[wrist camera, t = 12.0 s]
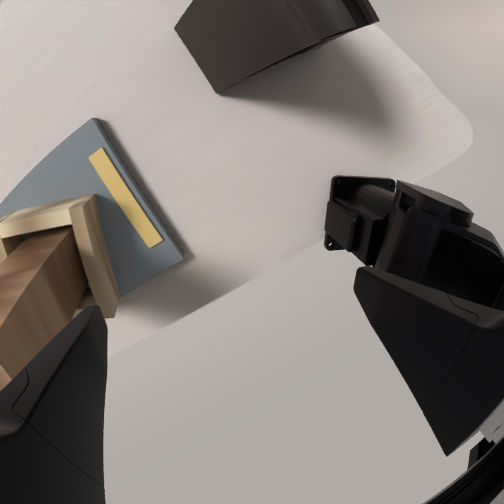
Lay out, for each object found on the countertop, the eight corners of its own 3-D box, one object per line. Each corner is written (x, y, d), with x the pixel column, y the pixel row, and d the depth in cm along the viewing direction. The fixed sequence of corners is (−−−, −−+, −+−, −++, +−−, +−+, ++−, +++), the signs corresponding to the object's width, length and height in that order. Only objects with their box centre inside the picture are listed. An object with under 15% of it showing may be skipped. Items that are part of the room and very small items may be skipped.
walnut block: (75, 223, 18) (-11, 347, 7) (91, 275, 20) (40, 414, 9) (31, 233, 18) (-61, 344, 6) (47, 281, 20) (-15, 406, 8)
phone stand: (215, 94, 18) (255, 63, 7) (173, 29, 15) (165, -62, 4) (320, 46, 17) (435, 11, 7) (283, -14, 14) (367, -90, 4)
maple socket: (95, 193, 18) (82, 206, 15) (120, 294, 22) (114, 317, 19) (7, 213, 16) (-12, 227, 14) (38, 302, 20) (26, 323, 17)
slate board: (96, 117, 16) (91, 117, 15) (183, 253, 22) (183, 260, 21) (-23, 235, 17) (-30, 241, 16) (55, 332, 23) (52, 340, 22)
